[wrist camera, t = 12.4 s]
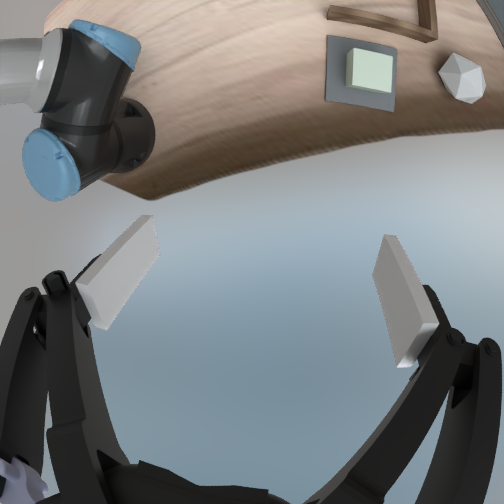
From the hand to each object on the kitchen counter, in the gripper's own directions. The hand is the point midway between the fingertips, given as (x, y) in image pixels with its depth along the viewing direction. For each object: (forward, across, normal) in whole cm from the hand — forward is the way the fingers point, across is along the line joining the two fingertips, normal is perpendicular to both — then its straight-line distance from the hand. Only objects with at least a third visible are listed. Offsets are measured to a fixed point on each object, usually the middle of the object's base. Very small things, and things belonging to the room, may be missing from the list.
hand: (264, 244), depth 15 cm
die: (+35, +30, +18) cm, 49 cm away
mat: (+35, +12, +14) cm, 39 cm away
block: (+34, +12, +14) cm, 39 cm away
